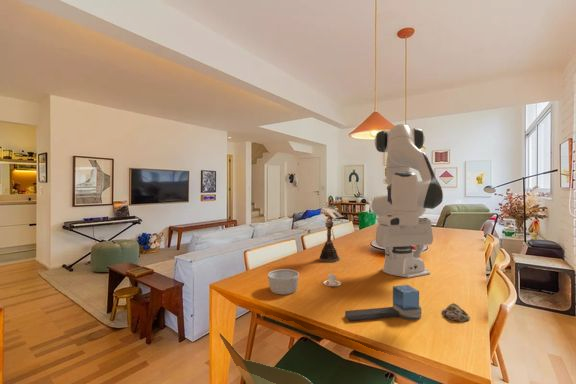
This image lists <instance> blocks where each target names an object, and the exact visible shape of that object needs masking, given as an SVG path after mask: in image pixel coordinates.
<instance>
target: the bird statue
mask: <svg viewBox="0 0 576 384" xmlns="http://www.w3.org/2000/svg"><path fill="white" fill-rule="evenodd" d="M334 207H335V205H334V204H332V205H331V206H330V204H329V202H328V201H326V202H325V207H324V206H323V207H321V210H322V211H324V212H325V213H326V215H327V218H326V220H325V222H324V224H325V227H326V230H327V231H326V237H327V239H326V241H325V242H324V244H323V247H322V249H321V252H320V256H319V260H320V261H321V260H322V261H321V262H324V261H325V262H324V263H336V261H337V262H338V261H340V257H339V255H338V252H337V249H336V248H335V246H334V243H333V241H332V228H333V226H334V222H333V221H335V222H337V220H343V219H346V218H345V217H346V215H342V214H341V213H340V212H338V211H337V210H335V209H334Z"/></svg>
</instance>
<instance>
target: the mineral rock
mask: <svg viewBox="0 0 576 384" xmlns="http://www.w3.org/2000/svg"><path fill="white" fill-rule="evenodd" d="M441 314H442V315H443V317H444V318H447V319H449V320H452V321H457V322H461V323H463V322H468V321H470V319H471V316H469V313H467V312H466V311H465V310H464V309H463V308H461V307H460V305H458V304H457V303H455V302H453V303H450V304H449V305H448V306H447V307H446V308H445V309H442V310H441Z"/></svg>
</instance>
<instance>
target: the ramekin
mask: <svg viewBox="0 0 576 384" xmlns="http://www.w3.org/2000/svg"><path fill="white" fill-rule="evenodd" d="M299 278H300V274H299V272H298V271H296V270H295V269H289V268H282V269H280V268H279V269H275V270H272V271H269V272H268V273H267V279H268V286H269V289H270V291H271V293H274V294H276V295H282V296H283V295H290V294H293V293H295V292H296V291H297V289H298V284H299Z"/></svg>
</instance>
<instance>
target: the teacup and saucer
mask: <svg viewBox="0 0 576 384" xmlns="http://www.w3.org/2000/svg"><path fill="white" fill-rule="evenodd" d="M327 276H328V279H327V280H324V281H323V283H322V284H323V285H325V286H329V287H338V286H341V285H342V282H341V281H339V280H336V274H334V273H328V275H327ZM327 281H328V282H327ZM327 283H328V284H327Z"/></svg>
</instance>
